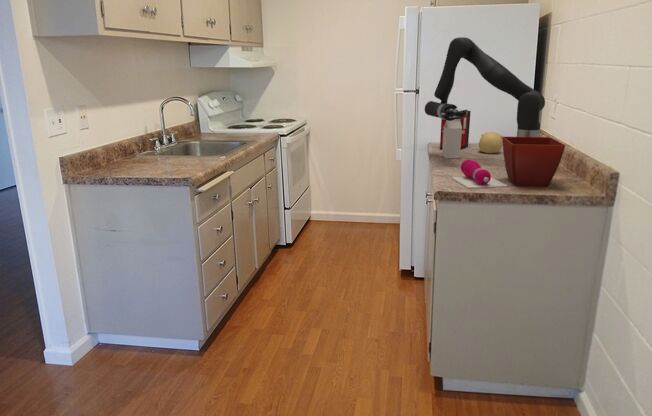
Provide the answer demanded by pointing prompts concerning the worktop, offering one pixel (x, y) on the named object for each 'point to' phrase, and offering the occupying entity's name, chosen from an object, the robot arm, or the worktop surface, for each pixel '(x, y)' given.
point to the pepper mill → (475, 172)
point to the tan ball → (490, 142)
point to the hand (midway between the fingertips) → (462, 114)
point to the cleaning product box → (465, 130)
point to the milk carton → (452, 139)
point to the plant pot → (531, 159)
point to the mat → (473, 184)
